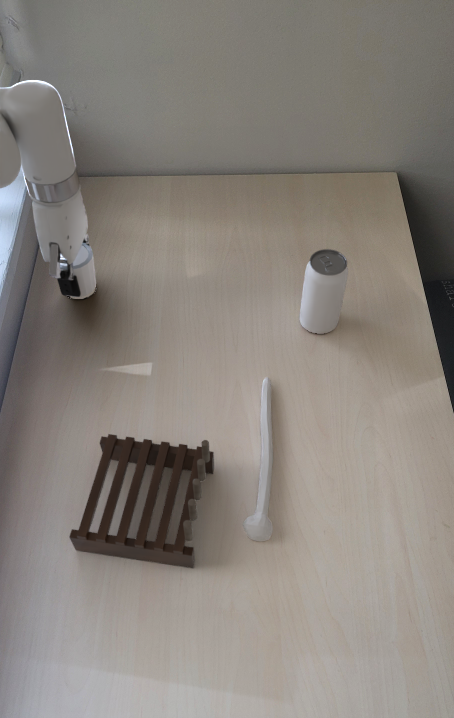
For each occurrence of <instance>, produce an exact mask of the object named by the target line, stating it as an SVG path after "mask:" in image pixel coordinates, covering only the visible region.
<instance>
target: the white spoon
mask: <svg viewBox="0 0 454 718" xmlns="http://www.w3.org/2000/svg"><path fill="white" fill-rule="evenodd" d="M260 393H261V394H260V397H261V398H260V416H259V417H260V421H259V422H260V423H259V425H260V426H259V428H260V438H261V443H260V444H261V446H260V447H261V448H260V466H259V476H258V477H259V478H258V480H259V481H258V490H257V500H256V506H255V511H254V513H253V514H251V515H249V516H248V517H246V518H245V520H244V521H243V523H242V527H243V531H244V532H245V535H246V536H247V537H248V538H249V539H250V540H252V541H254V542H264V541H268V540H270V539H271V537H272V534H273V531H274V529H273V522H272V521H271V520H270V518H269V517H268V515H269V514H268V513H269V507H270V499H271V498H270V497H271V489H272V474H273V473H272V472H273V465H274V464H273V463H274V448H273V429H272V428H273V423H272V381H271V379H270V378H269V377H268V376H266V377H264V379H263V381H262V383H261V391H260Z"/></svg>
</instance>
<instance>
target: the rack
mask: <svg viewBox="0 0 454 718" xmlns="http://www.w3.org/2000/svg"><path fill="white" fill-rule="evenodd" d="M200 444H201V446H200V445H199V446H196V448H190V447H188V444H183V443H178V446H174V445H171V443H170V442H169V441H163V440H162V441H160V443H153V440H152V439H147V438H143V440H142V441H140V440H139V441H138V440H136V439H135V437H133V436H125V439H123V438H118V435H117V434H113V433H112V434H111V433H108V435H107V436H101V437H100V440H99V446H100V449H101V453H102V454H101V456H100V460H99V463H98V466H97V469H96V472H95V476H94V479H93V483H92V484H91V485H92V486H91V489H90V492H89V495H88V498H87V501H86V505H85V507H84V510H83V514H82V517H81V521H80V524H79V527H78V529H74V528H73V529H71V530H70V534H69V535H68V536H69V540H70V542H71V544H72V546H73V548H74V550H75V551H76V552H77V551H78V552H85V553H90V554H97V555H104V556H109V557H110V556H111V557H117V558H123V559H130V560H136V561H142V562H149V563H157V564H161V565H169V566H175V567H181V568H188V569H194V568H195V567H194V566H195V563H196V559H195V549H194V547H193V546H186V542H192V541H193V540H194V535H193V533H194V532H193V526H192V524H193V523H192V521H193V522H195V521H196V520H197V519H198V507H197V502H199V501H201V500H202V498H203V497H202V496H203V495H202V482H205V481H206V479H207V475H206V474H210V475H214V471H215V452H214V451H212V450H210V441H209V440H207V439H203V440H201V443H200ZM111 461H117V464H116V465H117V466H116V468H115V473H114V474H113V475H114V476H113V479H112V483H111V486H110V490H109V493H108V496H107V499H106V502H105V506H104V509H103V513H102V516H101V519H100V523H99V525H98V526H99V527H98V529H97V532H94V531H90V530H91V527H92V523H93V522H94V521H93V520H94V517H95V514H96V511H97V508H98V505H99V501H100V497H101V496H102V495H101V494H102V492H103V488H104V484H105V482H106V478H107V475H108V471H109V468H110V465H111ZM129 463H133V464H136V465H135V468H134V472H133V476H132V480H131V483H130V487H129V490H128V493H127V497H126V499H125V500H126V501H125V503H124V508H123V511H122V515H121V518H120V522H119V525H118V529H117V532H116V535H113V534H110V530H111V526H112V523H113V520H114V517H115V516H114V515H115V512H116V508H117V505H118V502H119V498H120V495H121V491H122V489H123V488H122V487H123V484H124V481H125V477H126V473H127V470H128V467H129ZM147 466H151V467H152V466H153V472H152V475H151V479H150V483H149V487H148V491H147V495H146V497H145V502H144V506H143V509H142V514H141V517H140V521H139V525H138V529H137V532H136V537H135V538H134V537H128V536H129V531H130V529H131V525H132V520H133V517H134V513H135V509H136V506H137V502H138V499H139V495H140V492H141V487H142V484H143V481H144V477H145V472H146V469H147ZM166 468H167V469H172V470H171V475H170V480H169V483H168V487H167V491H166V495H165V500H164V504H163V508H162V512H161V516H160V520H159V523H158V528H157V531H156V536H155V541H153V540H148V535H149V531H150V527H151V523H152V519H153V515H154V511H155V507H156V504H157V499H158V496H159V492H160V487H161V484H162V479H163V475H164V472H165V469H166ZM183 471H189V472H190V475H189V479H188V483H187V488H186V492H185V495H184V496H185V497H184V501H183V506H182V510H181V513H180V514H181V515H180V519H179V523H178V527H177V531H176V536H175V541H174V543H173V544H172V543H168V542H167V538H168V535H169V534H168V533H169V530H170V525H171V521H172V517H173V513H174V509H175V505H176V499H177V496H178V491H179V487H180V483H181V478H182V474H183ZM166 542H167V543H166Z"/></svg>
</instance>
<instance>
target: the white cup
mask: <svg viewBox="0 0 454 718" xmlns="http://www.w3.org/2000/svg"><path fill="white" fill-rule="evenodd" d="M87 244H88V243H82V245H81V247H80V250H79V252H78V255H77V257H76V259H75V261H74V262H73V272H74V275H75V276H76V277H77V280H78V284H79V288H80V292H81V295H80V297H82V296H86V295H88V294H89V293H91V292H93V290H94V289H95V287H96V284H97V278H96V277H97V276H96V267H95V258H94V252H93V249H92V246H91V245H90V246H88V245H87ZM61 257H62V258H64V257H63V256H62V254H61ZM60 269H61V270H62V271H67V272H68V269H67V264H65V263H60ZM72 297H75V296H72Z"/></svg>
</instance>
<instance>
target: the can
mask: <svg viewBox="0 0 454 718" xmlns="http://www.w3.org/2000/svg"><path fill="white" fill-rule="evenodd" d="M348 276H349V267H348V260H347V257H346V256H345V255H344V253H342V252H340V251H338V250H336V249H331V248H324V249H323V248H322V249H318V250H316V251H315V252H313V253H312V254H311V255H310V258H309V261H308V262H307V264H306V266H305V270H304V277H303V285H302V293H301V301H300V307H299V316H298V319H299V323H300V325H301V327H302V328H303V329H304V330H306V331H307V330H308V331H307V332H308V333H311V332H312V333H311V334H315V333H317V334H316V335H324V333H325V334H327V333H330V332H332V331H333V330H335V329H336V328H337V326H338V324H339V321H340V320H339V319H340V316H341V312H342V311H341V310H342V307H343V301H344V297H345V292H346V286H347V282H348Z"/></svg>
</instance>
